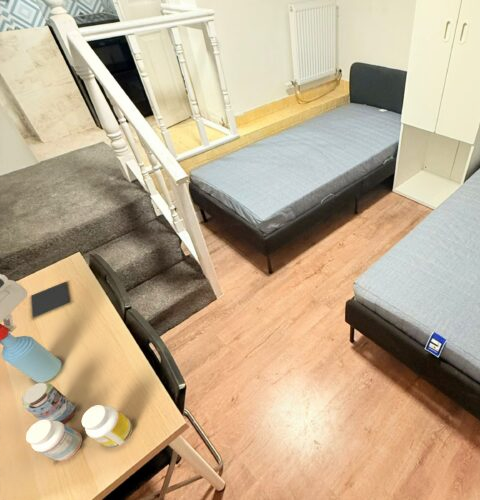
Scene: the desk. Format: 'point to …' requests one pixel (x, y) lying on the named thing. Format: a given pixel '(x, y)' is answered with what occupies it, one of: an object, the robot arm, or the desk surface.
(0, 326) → the cap
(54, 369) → the water bottle
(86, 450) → the desk surface
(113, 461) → the desk surface
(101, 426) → the pill bottle
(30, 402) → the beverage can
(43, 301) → the coaster
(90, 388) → the desk surface
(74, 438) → the pill bottle
